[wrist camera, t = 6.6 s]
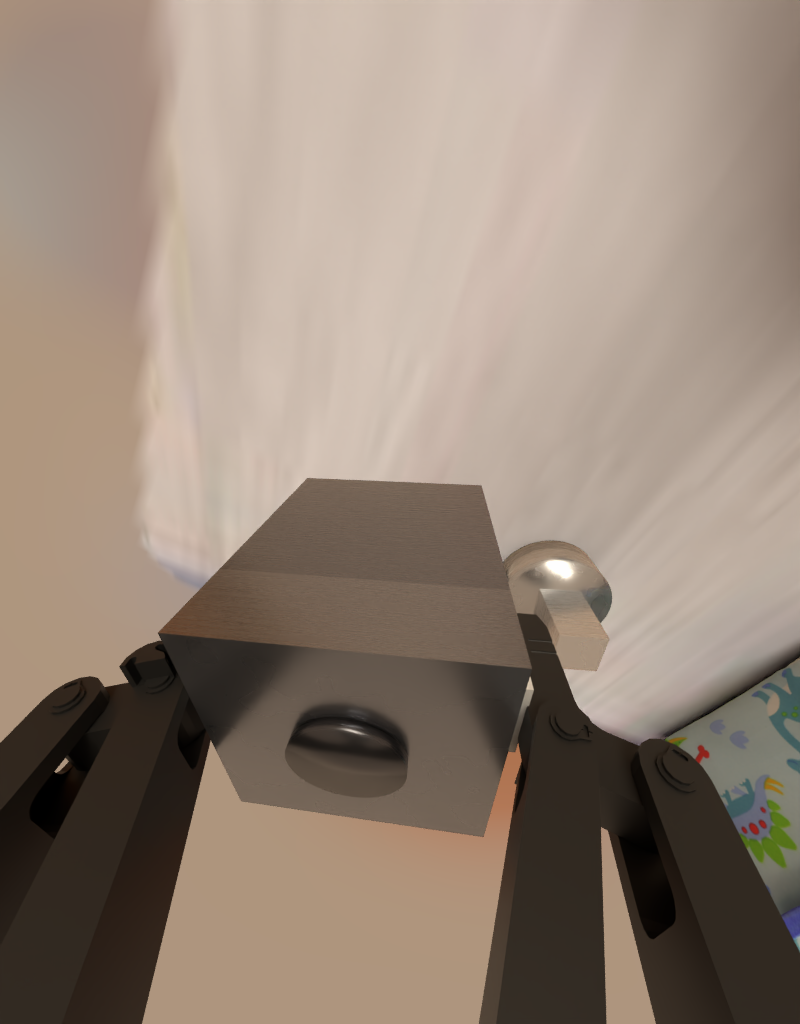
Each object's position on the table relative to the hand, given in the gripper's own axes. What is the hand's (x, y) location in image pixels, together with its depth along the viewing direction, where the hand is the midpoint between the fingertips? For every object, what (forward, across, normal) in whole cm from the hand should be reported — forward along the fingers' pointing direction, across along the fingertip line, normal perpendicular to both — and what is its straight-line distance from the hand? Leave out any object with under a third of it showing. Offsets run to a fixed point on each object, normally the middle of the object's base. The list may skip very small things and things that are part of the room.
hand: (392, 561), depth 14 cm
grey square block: (0, 0, 0) cm, 0 cm away
